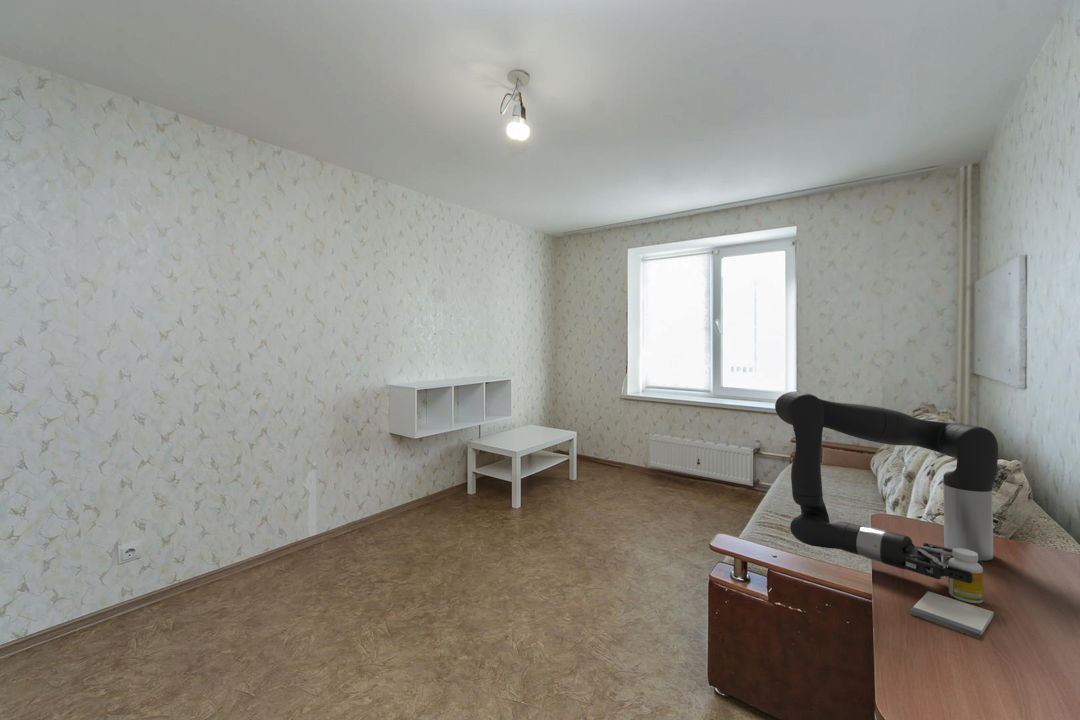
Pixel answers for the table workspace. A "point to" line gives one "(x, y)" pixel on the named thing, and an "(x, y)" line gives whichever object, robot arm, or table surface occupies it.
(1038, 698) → the table surface
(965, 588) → the supplement bottle
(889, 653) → the table surface
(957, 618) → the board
